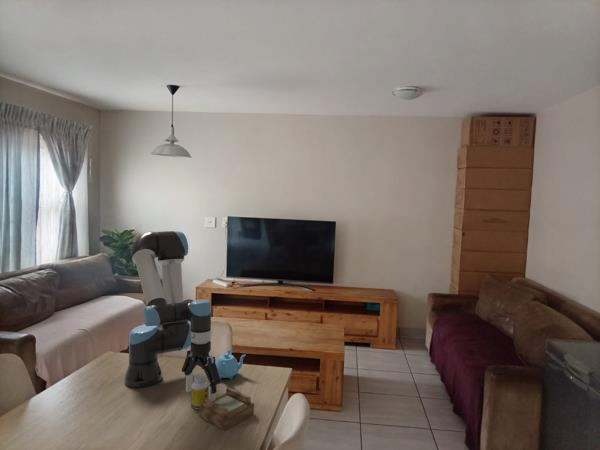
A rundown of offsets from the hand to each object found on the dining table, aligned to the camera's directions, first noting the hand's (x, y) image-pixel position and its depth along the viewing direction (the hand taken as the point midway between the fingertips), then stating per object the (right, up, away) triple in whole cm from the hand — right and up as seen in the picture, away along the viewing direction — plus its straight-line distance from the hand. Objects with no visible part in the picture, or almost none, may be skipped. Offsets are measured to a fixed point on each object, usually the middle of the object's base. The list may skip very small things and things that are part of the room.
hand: (200, 396), depth 155 cm
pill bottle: (0, -4, +1) cm, 4 cm away
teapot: (+5, -3, +27) cm, 27 cm away
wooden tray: (+11, -5, -6) cm, 13 cm away
